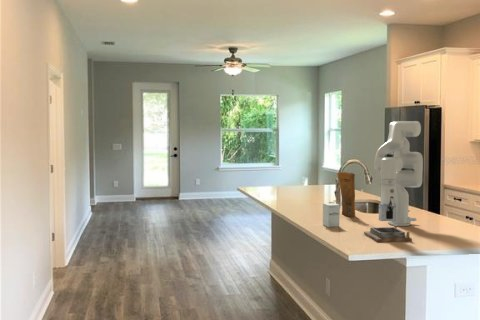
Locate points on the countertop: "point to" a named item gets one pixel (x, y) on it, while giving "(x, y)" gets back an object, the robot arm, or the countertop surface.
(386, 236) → the carrier board
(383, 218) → the medicine box
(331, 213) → the supplement box
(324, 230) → the countertop surface
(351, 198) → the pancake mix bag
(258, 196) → the countertop surface
